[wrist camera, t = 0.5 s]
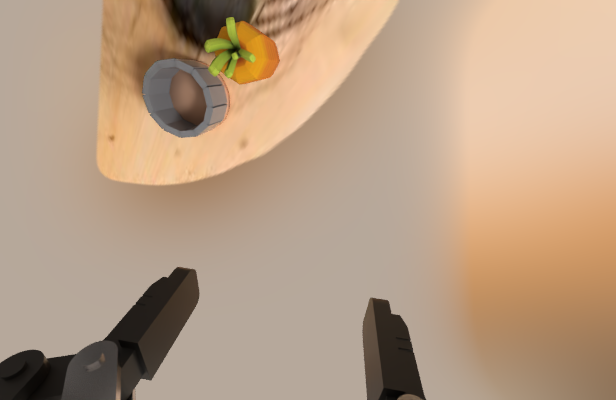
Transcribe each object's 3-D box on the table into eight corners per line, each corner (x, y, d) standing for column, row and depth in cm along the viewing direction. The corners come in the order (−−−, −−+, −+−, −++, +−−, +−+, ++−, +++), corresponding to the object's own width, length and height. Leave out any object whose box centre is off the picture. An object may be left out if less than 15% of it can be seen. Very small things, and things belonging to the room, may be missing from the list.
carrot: (275, 25, 30) (217, -11, 17) (299, 64, 32) (263, 59, 18) (244, 53, 32) (169, 40, 19) (268, 89, 34) (215, 101, 20)
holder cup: (156, 88, 36) (129, 91, 31) (197, 45, 32) (173, 41, 28) (200, 141, 38) (181, 150, 34) (242, 105, 35) (227, 109, 30)
